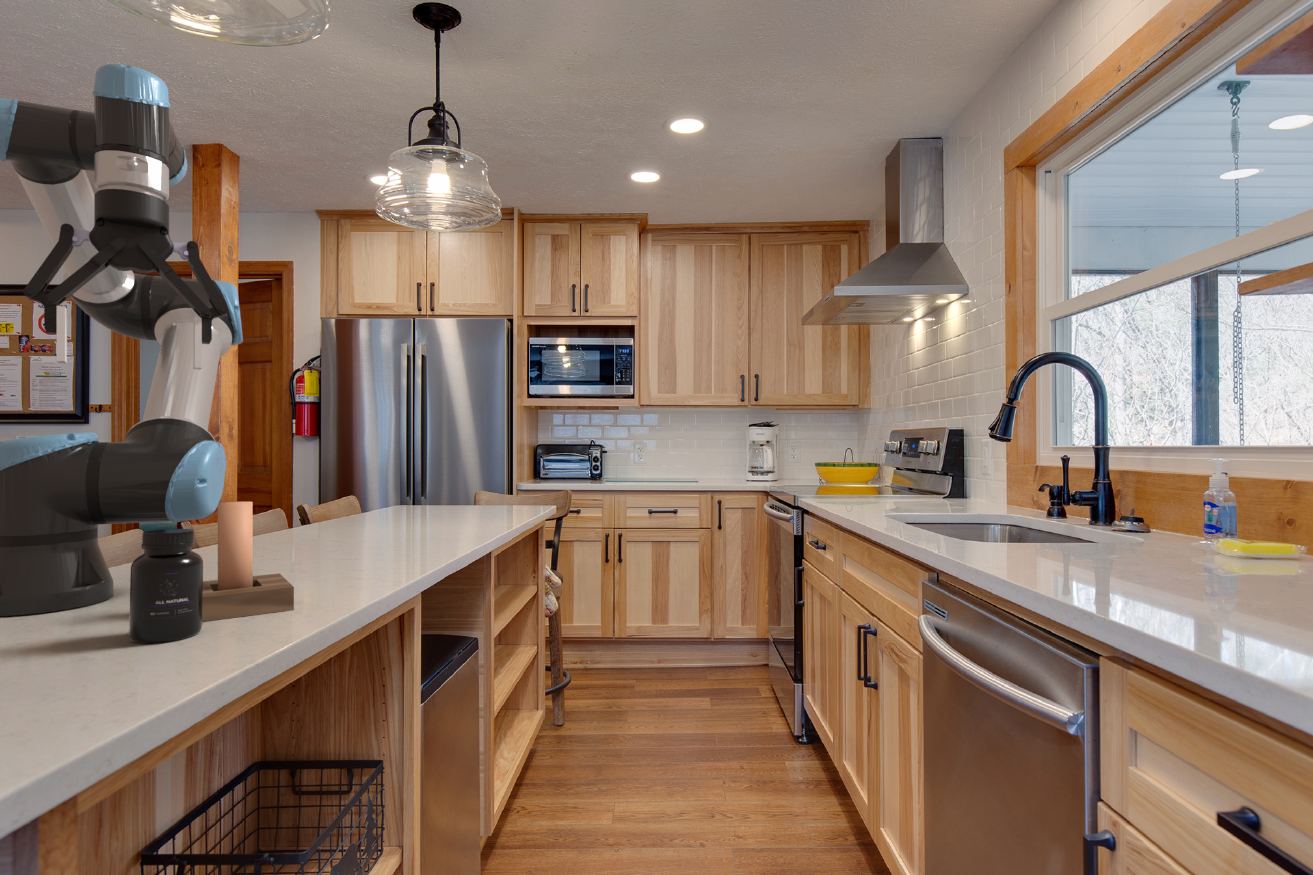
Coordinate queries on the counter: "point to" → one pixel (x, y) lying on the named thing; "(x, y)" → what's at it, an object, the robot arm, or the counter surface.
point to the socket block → (247, 598)
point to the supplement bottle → (166, 588)
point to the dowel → (235, 545)
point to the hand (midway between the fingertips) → (132, 365)
